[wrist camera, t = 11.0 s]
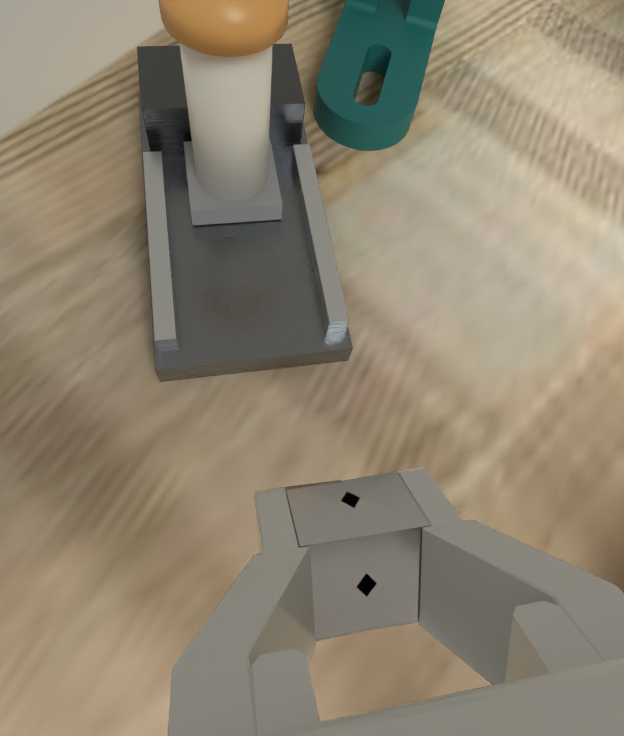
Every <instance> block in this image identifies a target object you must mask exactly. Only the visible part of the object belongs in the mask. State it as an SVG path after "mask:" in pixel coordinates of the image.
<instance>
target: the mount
mask: <svg viewBox="0 0 624 736" xmlns="http://www.w3.org/2000/svg"><path fill="white" fill-rule="evenodd" d="M137 51H138V67H139V83H140V95H139V108H140V124H141V140H142V157H143V173H144V189H145V205H146V221H147V238H148V254H149V270H150V286H151V302H152V319H153V335H154V351H155V367H156V372H157V375H158V377H159V380H160V382H163V381H171V380H180V379H189V378H198V377H206V376H215V375H224V374H233V373H242V372H250V371H259V370H268V369H277V368H286V367H294V366H303V365H312V364H321V363H329V362H338V361H347V360H348V359H349V356H350V354H351V351H352V349H353V348H352V343H351V339H350V334H349V330H348V322H349V319H348V314H347V310H346V305H345V301H344V296H343V292H342V287H341V283H340V278H339V274H338V269H337V265H336V260H335V256H334V251H333V247H332V242H331V238H330V233H329V229H328V224H327V220H326V215H325V211H324V206H323V201H322V197H321V192H320V188H319V183H318V179H317V174H316V170H315V165H314V161H313V156H312V152H311V147H310V144H308V143H307V138H306V134H305V129H304V124H303V119H304V109H305V101H304V97H303V92H302V88H301V83H300V79H299V74H298V70H297V65H296V61H295V57H294V52H293V48H292V44H273V45H272V72H271V99H270V127H269V138H270V140H271V145H272V151H273V156H274V162H275V167H276V173H277V178H278V183H279V189H280V194H281V200H282V218H281V219H278V220H264V221H249V222H235V223H221V224H207V225H193V224H192V217H191V210H190V200H189V190H188V181H187V171H186V161H185V151H184V142H191V141H192V139H191V131H190V123H189V115H188V107H187V99H186V91H185V83H184V75H183V67H182V60H181V52H180V46H147V47H137Z"/></svg>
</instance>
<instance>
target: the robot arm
mask: <svg viewBox="0 0 624 736" xmlns="http://www.w3.org/2000/svg"><path fill="white" fill-rule="evenodd" d="M255 506H256V515H257V525H258V534H259V544H260V553H261V554H258V555H254V556H253V557H252V559H251V560H250V561H249V563H248V564H247V566H246V567H245V568H244V570H243V571H242V573H241V574H240V575H239V577H238V578H237V579H236V581H235V582H234V584H233V585H232V586H231V588H230V589H229V591H228V592H227V593H226V595H225V596H224V597H223V599H222V600H221V602H220V603H219V604H218V606H217V607H216V609H215V610H214V611H213V613H212V614H211V615H210V617H209V618H208V620H207V621H206V622H205V624H204V625H203V627H202V628H201V629H200V631H199V632H198V633H197V635H196V636H195V638H194V639H193V640H192V642H191V643H190V645H189V646H188V647H187V649H186V650H185V651H184V653H183V654H182V656H181V657H180V658H179V660H178V661H177V663H176V664H175V665H174V667H173V668H172V682H171V696H170V710H169V724H168V736H624V593H623V592H622V591H621V590H620V589H619V588H618V587H617V586H616V585H615V584H612V583H610V582H608V581H606V580H604V579H601V578H599V577H597V576H595V575H593V574H590V573H588V572H586V571H584V570H582V569H579V568H577V567H575V566H573V565H571V564H568V563H566V562H564V561H562V560H560V559H557V558H555V557H553V556H551V555H549V554H547V553H544V552H542V551H540V550H538V549H536V548H533V547H531V546H529V545H527V544H525V543H522V542H520V541H518V540H516V539H514V538H511V537H509V536H507V535H505V534H503V533H500V532H498V531H496V530H494V529H492V528H489V527H487V526H485V525H483V524H481V523H478V522H476V521H474V520H466V521H463V519H462V518H461V516H460V515H459V514H458V512H457V511H456V509H455V508H454V507H453V505H452V504H451V502H450V501H449V500H448V498H447V497H446V495H445V494H444V493H443V491H442V490H441V489H440V487H439V486H438V484H437V483H436V482H435V480H434V479H433V477H432V476H431V475H430V473H429V472H428V470H427V469H426V468H423V467H417V468H412V469H406V470H401V471H395V472H392V473H386V474H380V475H374V476H368V477H362V478H356V479H350V480H344V481H341V480H338V481H330V482H322V483H314V484H306V485H298V486H290V487H285V488H283V487H281V488H274V489H268V490H261V491H255ZM415 622H419V625H421V626H422V627H423V628H424V629H425V630H427V631H428V632H429V633H430V634H431V635H433V636H434V637H435V638H436V639H438V640H439V641H440V642H441V643H442V644H444V645H445V646H446V647H447V648H448V649H450V650H451V651H452V652H453V653H455V654H456V655H457V656H458V657H459V658H461V659H462V660H463V661H464V662H465V663H467V664H468V665H469V666H470V667H472V668H473V669H474V670H475V671H476V672H478V673H479V674H480V675H481V676H482V677H484V678H485V679H486V680H487V681H489V682H490V683H491V684H492V685H491V686H486V687H482V688H477V689H472V690H467V691H463V692H458V693H453V694H449V695H444V696H439V697H434V698H430V699H425V700H420V701H416V702H411V703H406V704H402V705H397V706H392V707H387V708H383V709H378V710H373V711H369V712H364V713H359V714H355V715H350V716H345V717H340V718H336V719H331V720H326V721H322V722H320V720H319V715H318V710H317V706H316V701H315V696H314V692H313V687H312V682H311V677H310V673H309V668H308V665H309V662H310V659H311V657H312V654H313V652H314V649H315V646H316V641H320V640H324V639H329V638H333V637H338V636H343V635H347V634H352V633H356V632H361V631H365V630H371V629H377V628H384V627H390V626H396V625H403V624H409V623H415Z"/></svg>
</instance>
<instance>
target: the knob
mask: <svg viewBox="0 0 624 736" xmlns="http://www.w3.org/2000/svg"><path fill="white" fill-rule="evenodd" d="M159 7H160V12H161V19H162V22H163V24H164V26H165V28H166V29H167V31H168V32H169V33H170V34H171V36H172V37H174V38H175V39H176V40H177V41H179V44H180V52H181V60H182V67H183V75H184V83H185V91H186V99H187V107H188V115H189V123H190V131H191V139H192V141H191V142H184V151H185V161H186V171H187V181H188V190H189V200H190V210H191V217H192V224H193V225H207V224H221V223H235V222H249V221H264V220H278V219H281V218H282V200H281V194H280V189H279V183H278V178H277V173H276V167H275V162H274V156H273V151H272V145H271V140H270V138H269V127H270V99H271V72H272V45H273V44H275V43H276V42H277V41H278V40H279V39H280V38H281V37H282V35H283V34H284V32H285V30H286V27H287V24H288V8H289V0H159Z"/></svg>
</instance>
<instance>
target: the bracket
mask: <svg viewBox="0 0 624 736" xmlns="http://www.w3.org/2000/svg"><path fill="white" fill-rule="evenodd" d="M444 2H445V0H346V1H345V5H344V8H343V11H342V13H341V16H340V19H339V21H338V24H337V27H336V29H335V32H334V35H333V37H332V40H331V43H330V45H329V48H328V51H327V53H326V56H325V59H324V61H323V64H322V67H321V69H320V72H319V75H318V79H317V87H316V95H315V103H314V115H315V119H316V121H317V123H318V125H319V127H320V128H321V129H322V131H323V132H324V133H325V134H326V135H327V136H329V137H330V138H331V139H333V140H334V141H336V142H338V143H339V144H342V145H344V146H347V147H349V148H353V149H358V150H368V151H372V150H381V149H385V148H388V147H391V146H393V145H395V144H396V143H398V142H399V141H401V140H402V139H403V138H404V137H405V135H406V134H407V132H408V130H409V127H410V124H411V121H412V118H413V115H414V111H415V108H416V105H417V102H418V99H419V95H420V91H421V87H422V83H423V79H424V75H425V71H426V67H427V63H428V59H429V55H430V51H431V47H432V43H433V39H434V35H435V31H436V27H437V24H438V20H439V17H440V14H441V11H442V8H443V5H444ZM368 71H375V72H378V73H380V74H381V75H382V76H383V77H384V82H383V86H382V89H381V93H380V96H379V99H378V102H377V103H376V104H374V105H371V106H365V105H361V104H359V103H357V102H356V101H355V96H356V93H357V90H358V87H359V84H360V81H361V78H362V75H363V74H364V73H365V72H368Z"/></svg>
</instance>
